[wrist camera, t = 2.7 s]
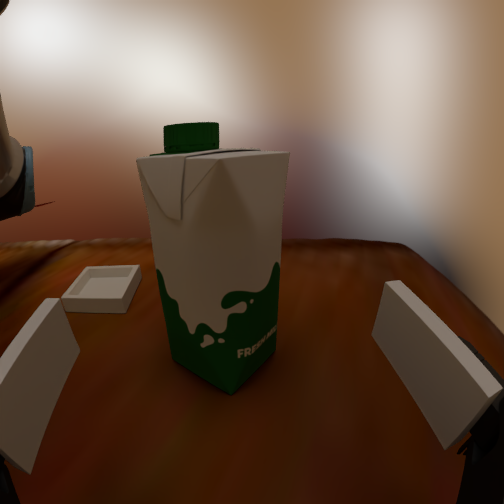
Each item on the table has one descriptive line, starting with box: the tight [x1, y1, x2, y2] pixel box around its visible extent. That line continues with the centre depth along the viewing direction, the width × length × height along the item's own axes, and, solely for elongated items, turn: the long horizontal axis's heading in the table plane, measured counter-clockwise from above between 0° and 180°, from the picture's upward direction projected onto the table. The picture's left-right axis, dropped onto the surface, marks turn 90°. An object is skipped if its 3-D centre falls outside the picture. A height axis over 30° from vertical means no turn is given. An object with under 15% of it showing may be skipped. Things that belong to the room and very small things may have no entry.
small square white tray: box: [61, 265, 142, 313], centre depth 34 cm, size 9×9×2 cm
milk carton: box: [136, 122, 290, 395], centre depth 21 cm, size 9×9×20 cm
